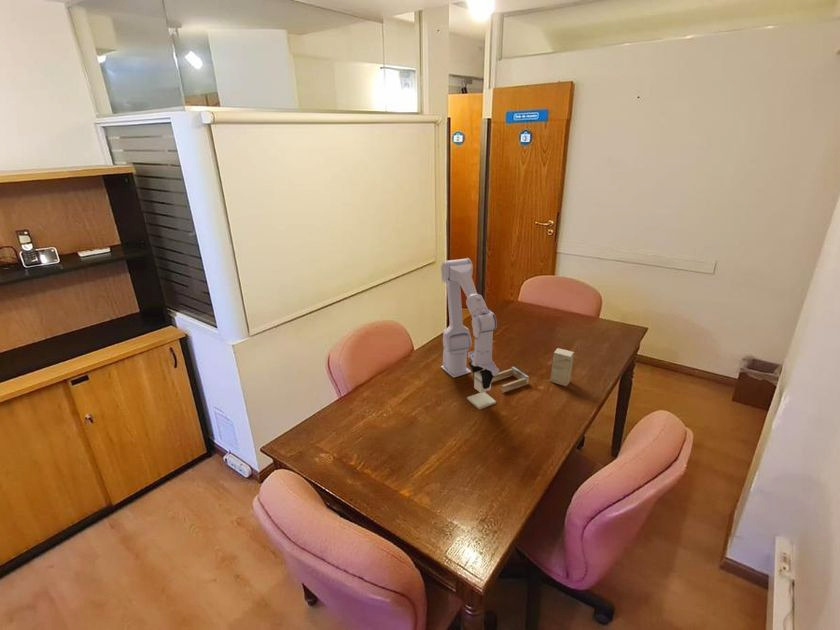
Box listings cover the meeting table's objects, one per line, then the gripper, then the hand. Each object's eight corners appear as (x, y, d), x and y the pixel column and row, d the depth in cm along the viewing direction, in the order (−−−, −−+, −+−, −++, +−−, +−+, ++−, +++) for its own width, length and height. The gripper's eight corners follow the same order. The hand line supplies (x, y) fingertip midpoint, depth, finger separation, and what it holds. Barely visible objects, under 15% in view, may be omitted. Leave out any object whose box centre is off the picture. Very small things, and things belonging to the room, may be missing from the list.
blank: (473, 387, 150) (474, 372, 148) (483, 384, 152) (484, 369, 149) (481, 393, 147) (481, 377, 144) (491, 389, 148) (491, 374, 146)
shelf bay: (488, 381, 162) (488, 374, 161) (513, 373, 167) (513, 366, 166) (503, 392, 155) (503, 385, 154) (528, 383, 160) (528, 376, 159)
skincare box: (549, 381, 161) (552, 352, 156) (553, 376, 165) (556, 347, 160) (567, 386, 158) (570, 356, 153) (570, 381, 161) (574, 351, 157)
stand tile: (467, 399, 152) (467, 397, 152) (483, 393, 155) (483, 391, 155) (479, 409, 147) (479, 407, 146) (496, 403, 150) (496, 401, 149)
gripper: (460, 342, 147) (460, 378, 153) (486, 360, 135) (485, 398, 141) (477, 337, 150) (476, 372, 156) (505, 355, 139) (503, 392, 144)
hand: (482, 384), depth 148 cm, fingers closed on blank, 4 cm apart
